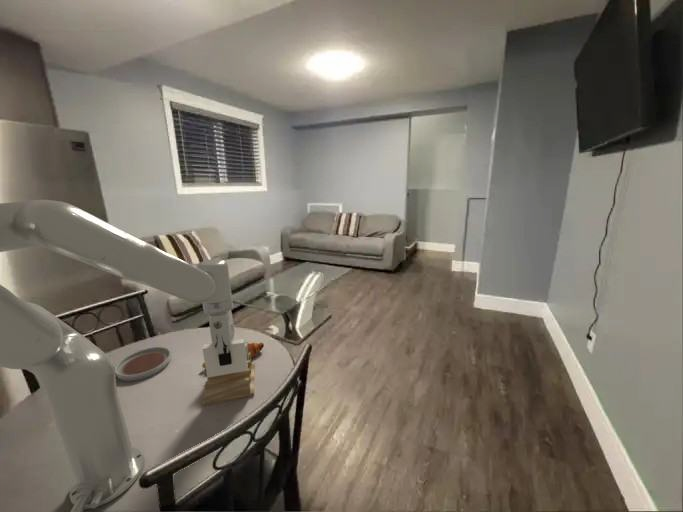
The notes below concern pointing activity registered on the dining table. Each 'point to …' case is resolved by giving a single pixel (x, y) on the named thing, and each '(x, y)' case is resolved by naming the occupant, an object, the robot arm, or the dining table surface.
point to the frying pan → (143, 363)
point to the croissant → (249, 350)
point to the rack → (231, 384)
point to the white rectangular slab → (236, 355)
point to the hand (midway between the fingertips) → (226, 360)
